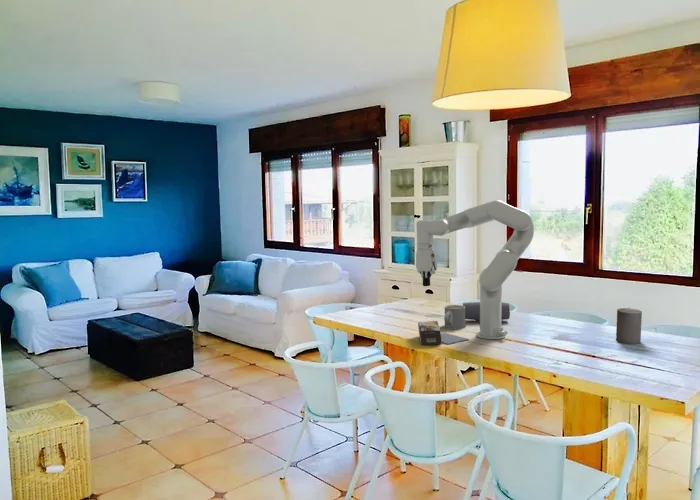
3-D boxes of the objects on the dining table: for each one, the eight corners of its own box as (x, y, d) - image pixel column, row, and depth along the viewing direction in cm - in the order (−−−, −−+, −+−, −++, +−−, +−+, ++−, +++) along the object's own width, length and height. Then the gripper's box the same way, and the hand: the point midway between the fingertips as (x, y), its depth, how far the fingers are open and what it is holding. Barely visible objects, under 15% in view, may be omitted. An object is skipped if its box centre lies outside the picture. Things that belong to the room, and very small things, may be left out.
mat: (468, 340, 247) (468, 338, 247) (448, 344, 240) (448, 343, 240) (445, 333, 259) (445, 332, 259) (424, 338, 252) (424, 337, 252)
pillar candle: (610, 339, 243) (611, 306, 242) (627, 337, 247) (628, 304, 245) (629, 345, 234) (630, 310, 233) (646, 342, 237) (647, 308, 236)
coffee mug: (454, 323, 281) (454, 304, 280) (469, 326, 273) (469, 306, 272) (435, 327, 273) (435, 307, 272) (450, 331, 265) (450, 310, 264)
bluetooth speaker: (506, 319, 288) (506, 300, 288) (510, 323, 279) (510, 303, 278) (462, 319, 291) (462, 300, 290) (464, 323, 282) (464, 303, 281)
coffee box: (419, 334, 256) (420, 345, 240) (417, 321, 255) (419, 331, 239) (439, 333, 255) (441, 344, 239) (437, 320, 254) (440, 330, 238)
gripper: (442, 246, 253) (443, 286, 255) (420, 245, 266) (421, 283, 267) (430, 248, 249) (431, 288, 251) (408, 246, 261) (409, 285, 263)
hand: (426, 285), depth 259 cm, fingers closed
